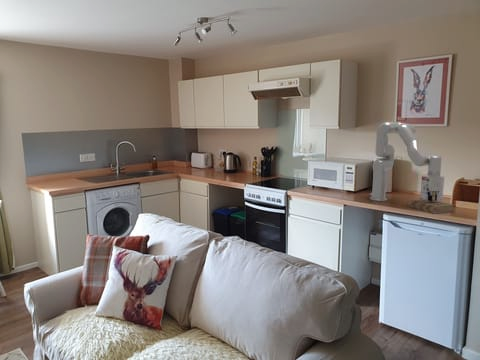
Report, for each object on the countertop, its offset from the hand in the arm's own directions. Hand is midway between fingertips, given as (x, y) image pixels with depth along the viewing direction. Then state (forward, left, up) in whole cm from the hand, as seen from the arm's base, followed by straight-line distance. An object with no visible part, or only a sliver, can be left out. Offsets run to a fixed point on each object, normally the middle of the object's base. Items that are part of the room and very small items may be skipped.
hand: (432, 200), depth 250 cm
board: (0, 0, -6) cm, 6 cm away
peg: (0, 0, -2) cm, 2 cm away
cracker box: (-15, +15, -7) cm, 22 cm away
